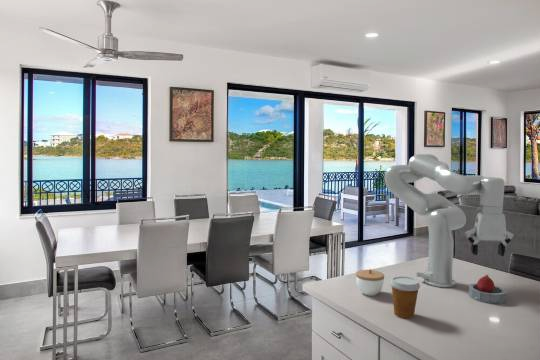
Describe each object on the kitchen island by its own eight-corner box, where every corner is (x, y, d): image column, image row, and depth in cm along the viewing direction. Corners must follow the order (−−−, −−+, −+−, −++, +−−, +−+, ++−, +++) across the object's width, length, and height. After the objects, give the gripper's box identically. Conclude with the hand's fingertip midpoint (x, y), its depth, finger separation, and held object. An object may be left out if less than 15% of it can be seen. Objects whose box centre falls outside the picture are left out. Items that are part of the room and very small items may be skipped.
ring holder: (477, 303, 145) (478, 293, 145) (463, 291, 157) (464, 283, 157) (511, 304, 145) (511, 295, 144) (495, 292, 157) (495, 284, 156)
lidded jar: (388, 292, 155) (389, 269, 155) (375, 300, 147) (375, 275, 147) (364, 286, 163) (364, 264, 162) (350, 293, 155) (350, 269, 154)
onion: (493, 298, 147) (495, 277, 147) (476, 295, 150) (477, 275, 149) (494, 294, 152) (495, 273, 152) (477, 291, 155) (478, 271, 154)
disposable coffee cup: (406, 323, 128) (407, 287, 127) (383, 312, 136) (384, 278, 135) (424, 316, 133) (426, 282, 132) (401, 307, 141) (403, 274, 140)
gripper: (471, 211, 145) (468, 256, 147) (520, 212, 144) (516, 258, 146) (463, 207, 153) (460, 251, 154) (509, 209, 152) (505, 252, 153)
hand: (487, 254), depth 150 cm, fingers open, 9 cm apart
